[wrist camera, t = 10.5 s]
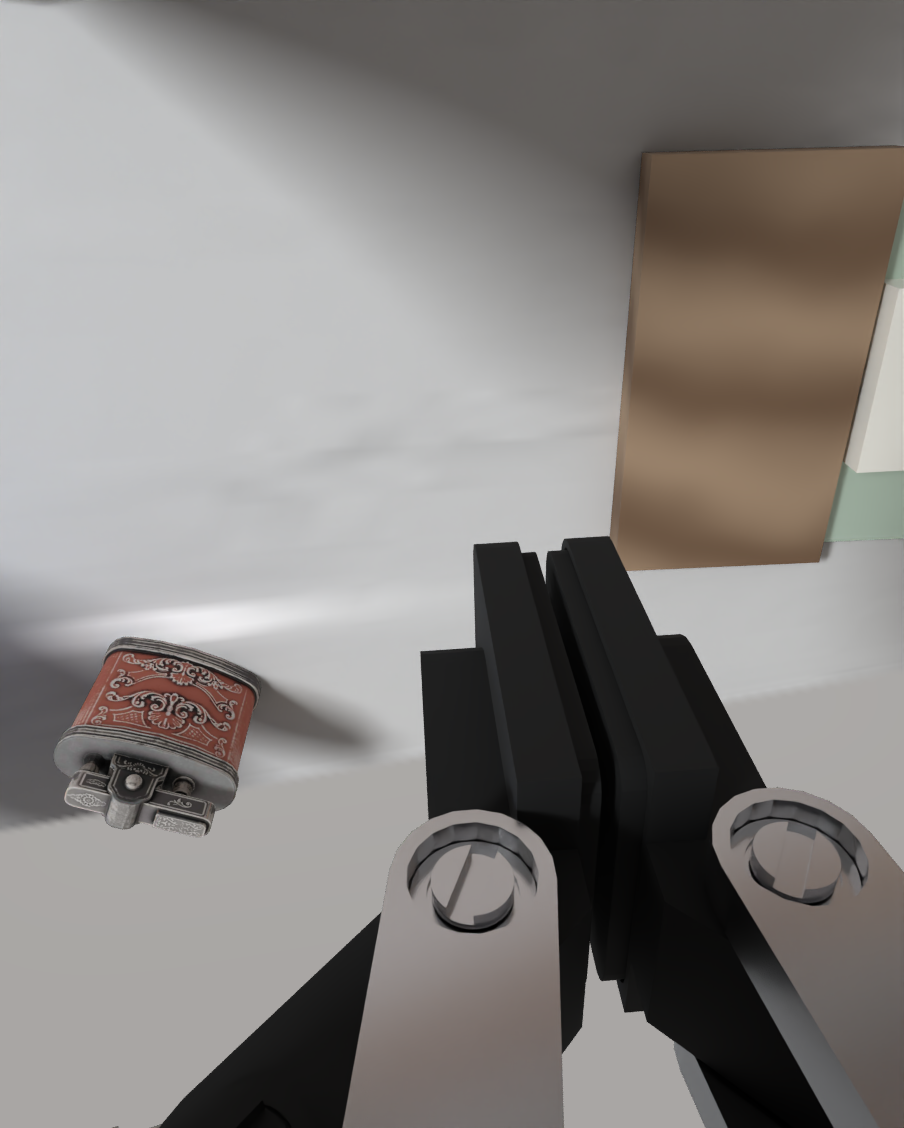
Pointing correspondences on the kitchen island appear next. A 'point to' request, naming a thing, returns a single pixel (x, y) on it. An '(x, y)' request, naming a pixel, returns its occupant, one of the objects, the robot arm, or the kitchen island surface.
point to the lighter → (159, 737)
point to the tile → (881, 391)
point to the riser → (747, 348)
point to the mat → (872, 497)
